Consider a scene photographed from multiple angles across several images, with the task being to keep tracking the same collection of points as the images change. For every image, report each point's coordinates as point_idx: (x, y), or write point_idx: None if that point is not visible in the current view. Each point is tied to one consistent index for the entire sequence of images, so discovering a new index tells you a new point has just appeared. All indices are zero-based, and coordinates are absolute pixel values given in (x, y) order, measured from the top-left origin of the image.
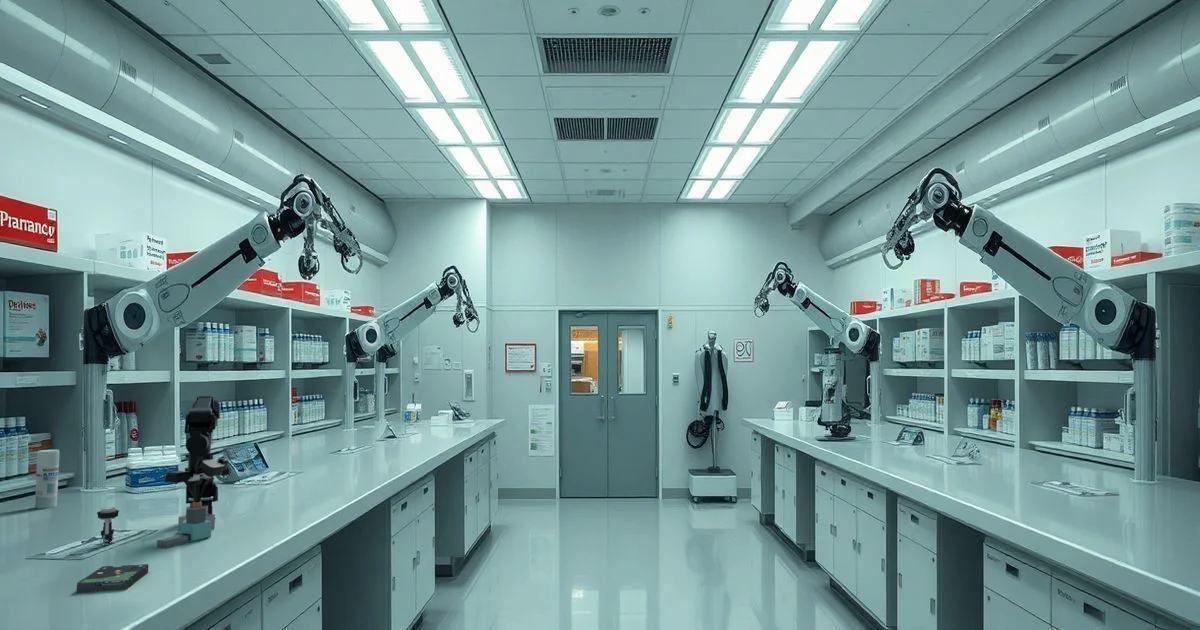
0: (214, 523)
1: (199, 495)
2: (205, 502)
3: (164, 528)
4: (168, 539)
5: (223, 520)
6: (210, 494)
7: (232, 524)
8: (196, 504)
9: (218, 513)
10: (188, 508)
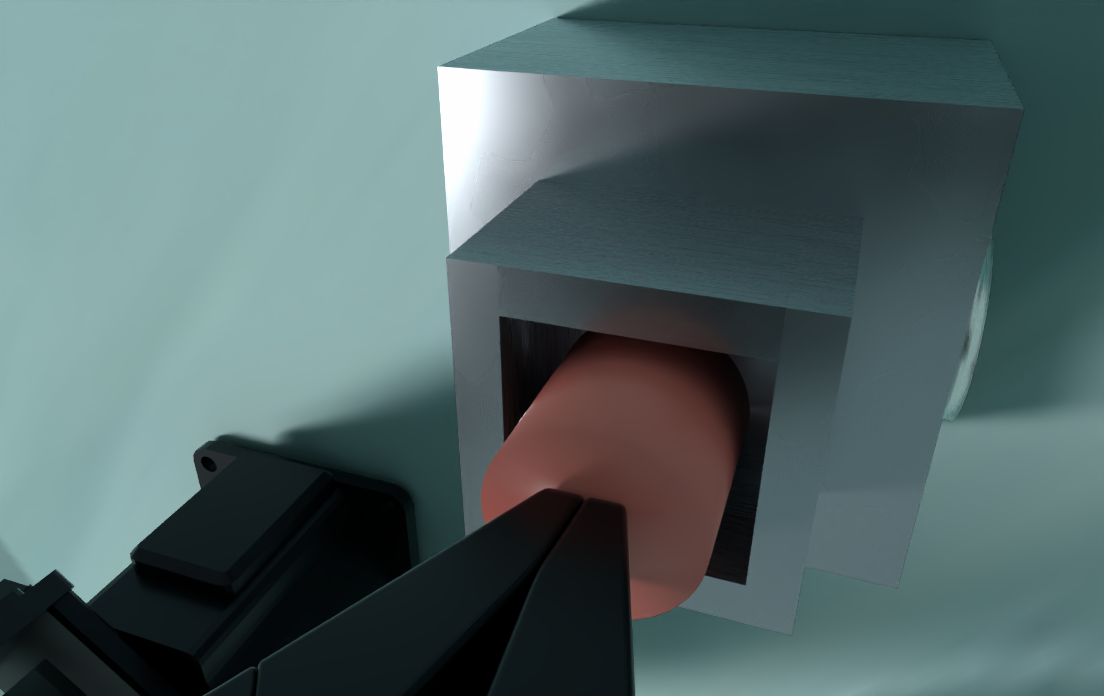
0: (518, 36)
1: (503, 621)
2: (154, 661)
3: (750, 692)
4: None
5: (169, 347)
6: (16, 686)
7: (217, 42)
8: (699, 454)
9: None
10: (805, 555)
